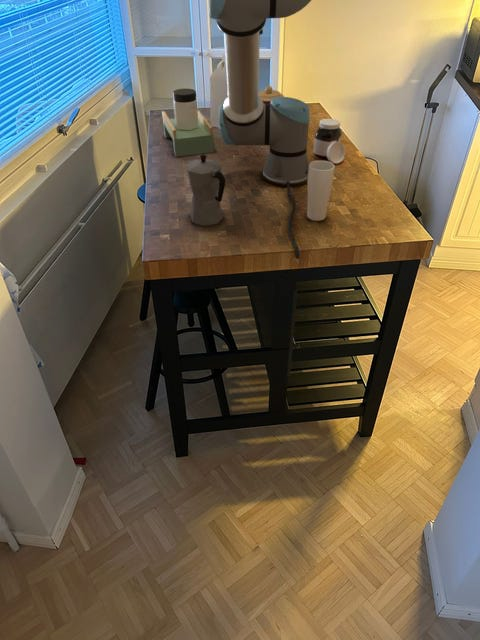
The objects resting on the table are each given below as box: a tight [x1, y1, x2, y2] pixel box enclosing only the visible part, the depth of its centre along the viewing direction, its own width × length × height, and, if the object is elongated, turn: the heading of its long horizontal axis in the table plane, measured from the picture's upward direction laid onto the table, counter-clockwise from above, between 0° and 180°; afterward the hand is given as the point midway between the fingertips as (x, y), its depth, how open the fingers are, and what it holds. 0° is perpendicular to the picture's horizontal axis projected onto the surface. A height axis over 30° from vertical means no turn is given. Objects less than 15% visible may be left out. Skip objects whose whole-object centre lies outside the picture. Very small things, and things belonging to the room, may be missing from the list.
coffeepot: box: [185, 154, 226, 227], centre depth 126 cm, size 15×9×18 cm, turn 39°
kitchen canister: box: [258, 85, 285, 104], centre depth 177 cm, size 13×13×18 cm
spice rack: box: [161, 108, 215, 158], centre depth 174 cm, size 22×14×9 cm, turn 17°
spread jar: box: [313, 118, 346, 164], centre depth 161 cm, size 12×11×12 cm
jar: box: [172, 88, 199, 131], centre depth 169 cm, size 9×8×12 cm
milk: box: [209, 52, 228, 129], centre depth 185 cm, size 12×12×26 cm
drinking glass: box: [306, 160, 335, 222], centre depth 128 cm, size 7×7×15 cm
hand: (247, 55), depth 154 cm, fingers open, 13 cm apart
